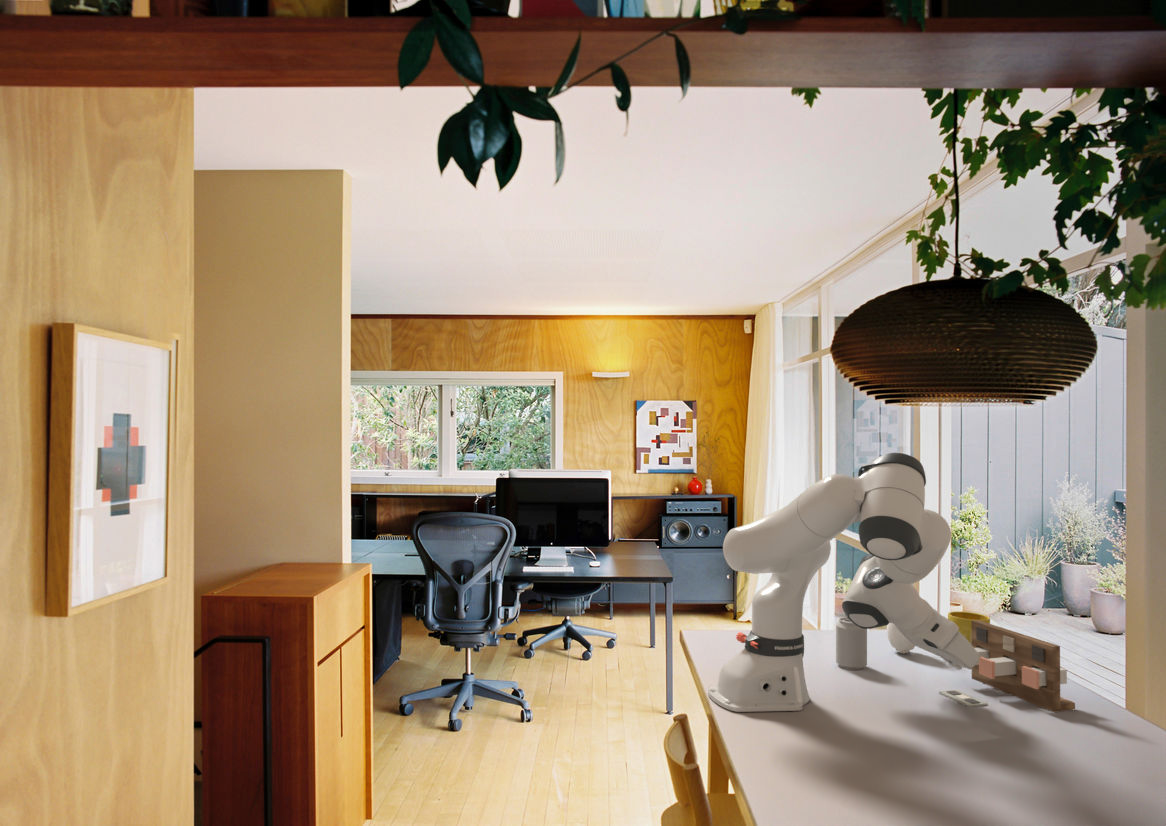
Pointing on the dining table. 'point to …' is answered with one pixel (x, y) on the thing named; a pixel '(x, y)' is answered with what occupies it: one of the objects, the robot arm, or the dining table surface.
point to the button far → (982, 653)
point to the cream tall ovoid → (898, 639)
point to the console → (1027, 655)
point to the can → (850, 645)
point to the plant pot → (966, 622)
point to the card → (963, 698)
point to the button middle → (997, 666)
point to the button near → (1039, 677)
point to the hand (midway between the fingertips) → (958, 665)
